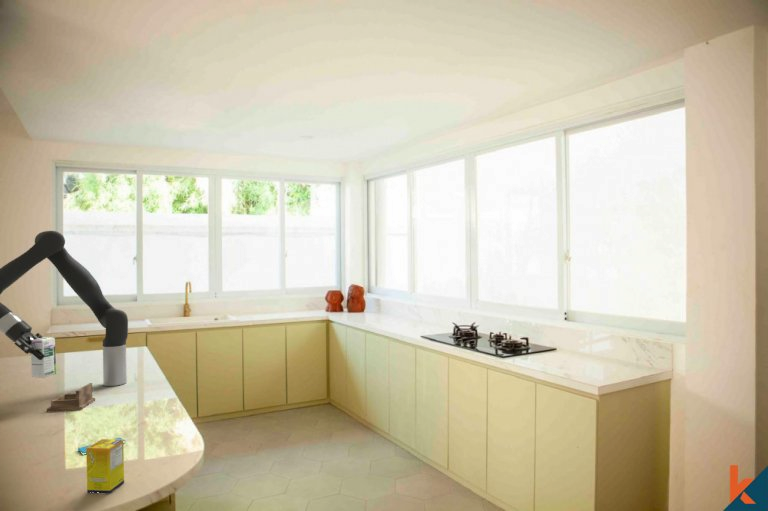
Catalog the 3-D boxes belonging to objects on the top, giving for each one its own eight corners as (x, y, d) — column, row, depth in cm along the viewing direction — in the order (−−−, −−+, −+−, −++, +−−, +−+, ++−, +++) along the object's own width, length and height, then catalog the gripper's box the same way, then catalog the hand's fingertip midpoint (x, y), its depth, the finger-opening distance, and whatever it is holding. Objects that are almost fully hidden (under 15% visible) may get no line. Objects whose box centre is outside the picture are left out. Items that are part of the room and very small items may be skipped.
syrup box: (44, 378, 192) (43, 339, 192) (30, 377, 193) (29, 339, 193) (56, 374, 198) (55, 337, 197) (43, 373, 199) (42, 336, 199)
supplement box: (102, 482, 127) (101, 438, 127) (124, 483, 127) (124, 439, 127) (86, 493, 121) (85, 447, 121) (109, 494, 121) (109, 448, 121)
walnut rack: (62, 402, 199) (61, 384, 199) (95, 400, 201) (94, 382, 201) (46, 411, 187) (46, 392, 187) (82, 409, 189) (81, 390, 189)
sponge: (127, 442, 153) (121, 435, 157) (82, 453, 145) (77, 446, 149) (127, 447, 153) (121, 440, 157) (82, 459, 145) (77, 450, 149)
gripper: (10, 322, 187) (45, 352, 189) (31, 317, 201) (64, 345, 203) (-6, 337, 186) (30, 367, 188) (16, 331, 200) (49, 359, 202)
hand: (47, 356), depth 196 cm, fingers closed on syrup box, 7 cm apart
